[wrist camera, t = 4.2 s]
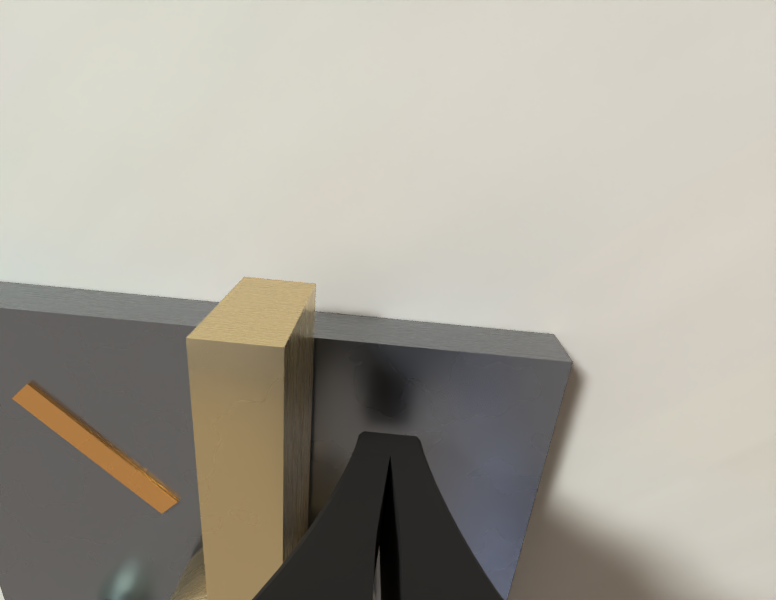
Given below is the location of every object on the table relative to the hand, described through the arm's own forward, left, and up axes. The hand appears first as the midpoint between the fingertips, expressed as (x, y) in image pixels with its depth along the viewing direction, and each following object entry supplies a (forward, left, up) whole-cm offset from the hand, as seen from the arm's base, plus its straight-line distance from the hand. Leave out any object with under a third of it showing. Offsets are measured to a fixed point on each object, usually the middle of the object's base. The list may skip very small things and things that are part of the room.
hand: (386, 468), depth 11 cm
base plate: (-6, +4, -3) cm, 7 cm away
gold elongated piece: (-3, +3, -1) cm, 4 cm away
